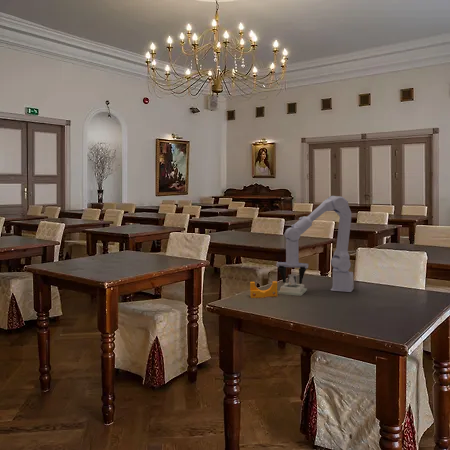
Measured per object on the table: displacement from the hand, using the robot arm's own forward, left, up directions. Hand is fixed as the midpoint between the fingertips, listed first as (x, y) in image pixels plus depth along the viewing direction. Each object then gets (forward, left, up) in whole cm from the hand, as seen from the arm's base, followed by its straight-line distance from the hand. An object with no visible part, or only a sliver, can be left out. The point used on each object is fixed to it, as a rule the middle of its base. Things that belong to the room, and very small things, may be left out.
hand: (292, 282), depth 227 cm
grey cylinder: (0, 0, -3) cm, 3 cm away
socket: (0, 0, -4) cm, 4 cm away
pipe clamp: (+10, +12, -5) cm, 16 cm away
